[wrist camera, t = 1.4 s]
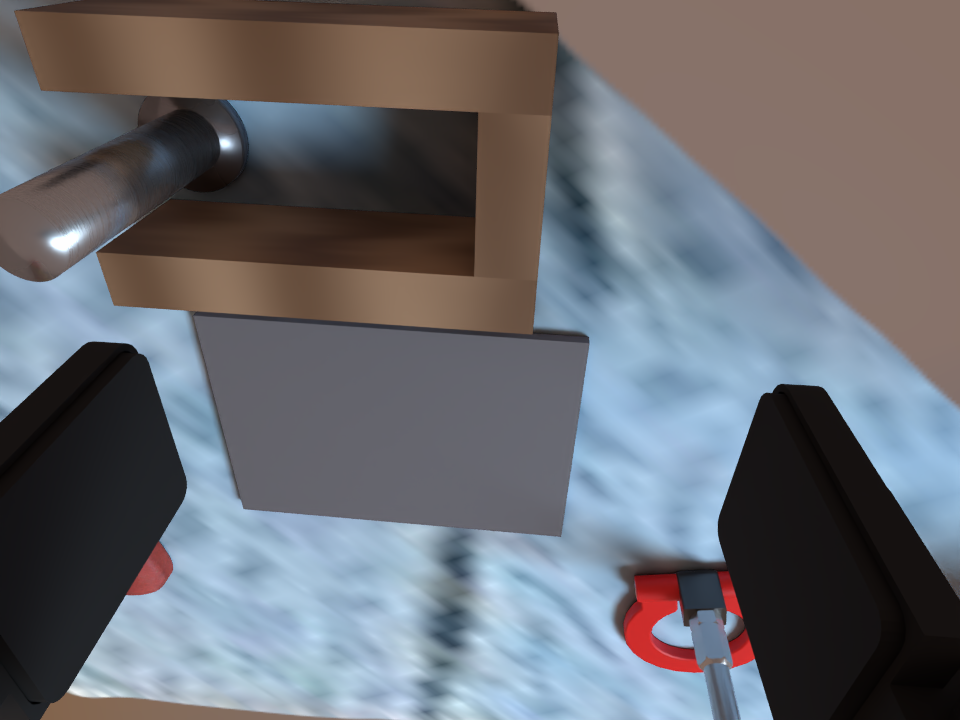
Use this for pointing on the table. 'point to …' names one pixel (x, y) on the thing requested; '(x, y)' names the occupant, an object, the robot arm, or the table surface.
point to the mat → (397, 420)
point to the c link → (329, 81)
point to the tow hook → (706, 615)
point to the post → (119, 184)
